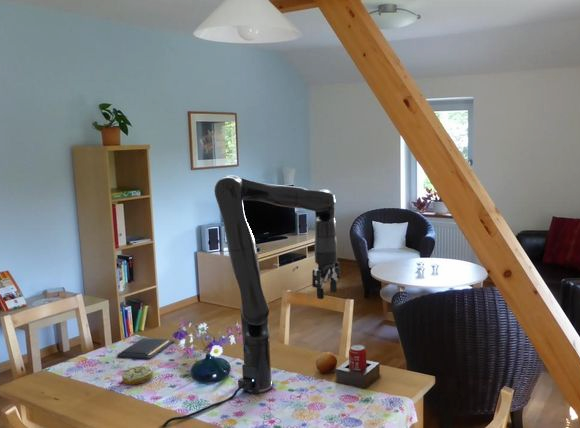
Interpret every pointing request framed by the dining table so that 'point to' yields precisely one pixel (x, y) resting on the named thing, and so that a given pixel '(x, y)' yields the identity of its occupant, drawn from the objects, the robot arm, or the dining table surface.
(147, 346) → the dark grey book
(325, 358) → the fruit
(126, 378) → the decorated donut
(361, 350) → the beverage can
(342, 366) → the can holder
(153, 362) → the dining table surface
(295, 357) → the dining table surface
